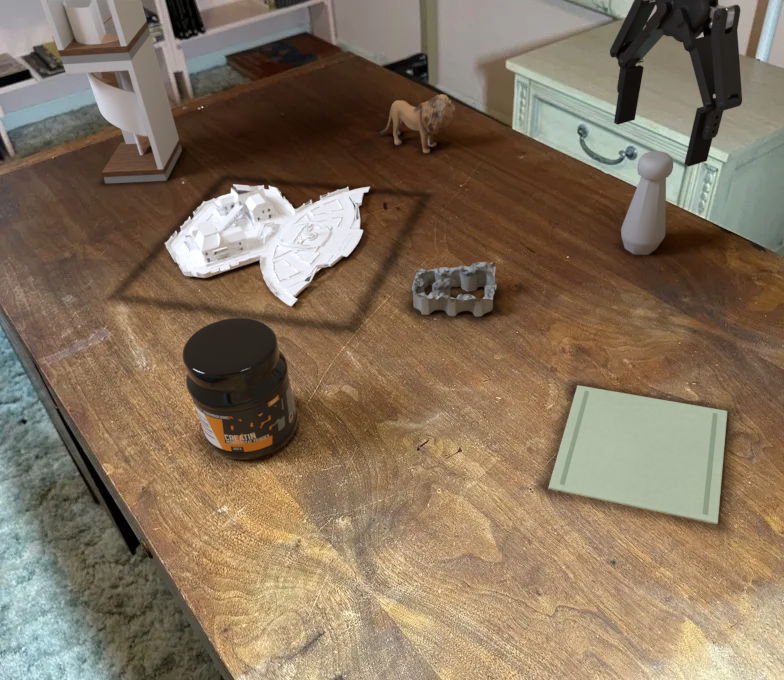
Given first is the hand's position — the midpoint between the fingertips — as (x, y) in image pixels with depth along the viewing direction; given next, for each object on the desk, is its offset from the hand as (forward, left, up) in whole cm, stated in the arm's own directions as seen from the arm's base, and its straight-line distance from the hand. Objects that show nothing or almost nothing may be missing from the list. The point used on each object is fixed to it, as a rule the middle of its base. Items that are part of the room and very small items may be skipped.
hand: (658, 141), depth 95 cm
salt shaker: (0, 0, -15) cm, 15 cm away
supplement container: (+59, +8, -15) cm, 61 cm away
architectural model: (+43, -28, -15) cm, 53 cm away
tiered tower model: (+55, -65, -15) cm, 86 cm away
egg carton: (+28, -2, -15) cm, 32 cm away
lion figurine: (+11, -46, -15) cm, 49 cm away
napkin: (+24, +31, -15) cm, 42 cm away
